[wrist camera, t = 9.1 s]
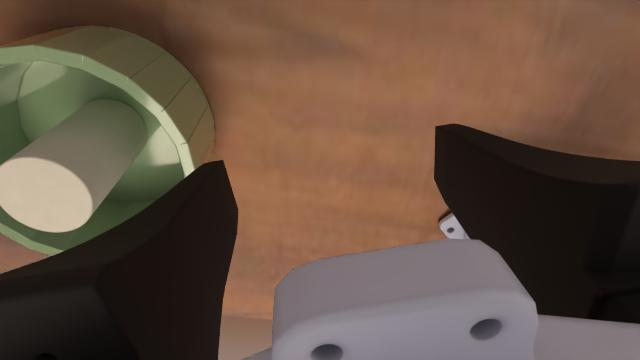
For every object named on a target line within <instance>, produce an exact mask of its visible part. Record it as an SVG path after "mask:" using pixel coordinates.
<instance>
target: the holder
mask: <svg viewBox="0 0 640 360" xmlns="http://www.w3.org/2000/svg"><path fill="white" fill-rule="evenodd" d="M97 99H113V100H117V101H120V102H122V103H125V104H126V105H128V106H130V107H131V108H132V109H134V110H135V111H136V112H137V113H138V114H139V115H140V117H141V118H142V120H143V122H144V123H145V126H146V130H147V141H146V144H145V146H144V148H143V149H142V151H141V152H140V153H139V155H138V156H137V157H136V158H135V160H134V161H133V162H132V164H131V165H130V166H129V168H128V169H127V170H126V171H125V173H124V174H123V175H122V177H121V178H120V179H119V181H118V182H117V183H116V184H115V186H114V187H113V188H112V190H111V191H110V192H109V193H108V195H107V196H106V197H105V199H104V200H103V201H102V203H101V204H100V205H99V206H98V208H97V209H96V210H95V212H94V213H93V214H92V216H91V217H90V218H89V219H88V221H87V222H86V223H85V224H83V225H82V226H80V227H79V228H76V229H74V230H71V231H67V232H46V231H41V230H37V229H34V228H31V227H29V226H27V225H24V224H23V223H21V222H19V221H17V220H16V219H14V218H13V217H12V216H10V215H9V214H8V213H7V212H6V211H5V210H4V209H3V208H2V207H1V205H0V233H1V234H3V235H5V236H7V237H8V238H10V239H12V240H14V241H16V242H17V243H19V244H21V245H23V246H25V247H27V248H29V249H32V250H35V251H39V252H42V253H45V254H48V255H51V256H53V255H55V254H58V253H60V252H63V251H65V250H68V249H70V248H72V247H75V246H77V245H79V244H81V243H84V242H86V241H88V240H90V239H92V238H94V237H96V236H98V235H100V234H102V233H104V232H106V231H108V230H109V229H111V228H113V227H115V226H117V225H119V224H121V223H122V222H124V221H126V220H127V219H129V218H131V217H132V216H134V215H136V214H137V213H139V212H140V211H142V210H143V209H145V208H146V207H148V206H149V205H151V204H152V203H153V202H155V201H156V200H157V199H159V198H160V197H161V196H163V195H164V194H165V193H167V192H168V191H169V190H171V189H172V188H173V187H174V186H175V185H177V184H178V183H179V182H180V181H182V180H183V179H184V178H185V177H186V176H188V175H189V174H190V173H191V172H193V171H194V170H195V169H196V168H198V167H199V166H201V165H202V164H204V163H207V162H211V161H212V155H213V152H214V145H215V125H214V119H213V115H212V112H211V108H210V105H209V103H208V101H207V98H206V96H205V94H204V93H203V91H202V89H201V87H200V86H199V84H198V83H197V81H196V80H195V79H194V77H193V76H192V75H191V73H190V72H189V71H188V70H187V69H186V68H185V67H184V66H183V65H182V64H181V63H180V62H179V61H178V60H177V59H176V58H174V57H173V56H172V55H171V54H170V53H168V52H167V51H165V50H164V49H162V48H161V47H160V46H158V45H157V44H155V43H153V42H151V41H149V40H147V39H145V38H143V37H141V36H138V35H136V34H133V33H131V32H128V31H125V30H121V29H117V28H113V27H106V26H98V25H82V26H75V27H69V28H62V29H56V30H52V31H49V32H45V33H42V34H38V35H35V36H31V37H28V38H24V39H21V40H18V41H14V42H11V43H7V44H4V45H0V165H1V164H2V163H4V162H5V161H7V160H8V159H10V158H11V157H12V156H14V155H15V154H17V153H18V152H19V151H21V150H22V149H24V148H25V147H27V146H28V145H29V144H31V143H32V142H34V141H35V140H36V139H38V138H39V137H41V136H42V135H44V134H45V133H46V132H48V131H49V130H51V129H52V128H53V127H55V126H56V125H58V124H59V123H61V122H62V121H63V120H65V119H66V118H68V117H69V116H70V115H72V114H73V113H75V112H76V111H78V110H79V109H80V108H82V107H83V106H85V105H86V104H88V103H89V102H91V101H93V100H97Z"/></svg>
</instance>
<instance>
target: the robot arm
mask: <svg viewBox="0 0 640 360" xmlns="http://www.w3.org/2000/svg"><path fill="white" fill-rule="evenodd" d="M434 180H435V182H436V184H437V186H438V189H439V191H440V193H441V195H442V197H443V199H444V201H445V203H446V204H447V206H448V207H449V209H450V210H451V212H452V213H451V214H449V215H448V216H446V217H445V218H443V219H442V220H441V221H440V222H439V227H440V229H441V230H442V231H443V233H444V234H445V235H446V236H447V237H448V238H449V239H444V240H437V241H431V242H424V243H418V244H412V245H405V246H399V247H392V248H386V249H380V250H373V251H367V252H361V253H354V254H348V255H341V256H335V257H329V258H322V259H319V260H316V261H313V262H311V263H308V264H305V265H303V266H300V267H297V268H294V269H292V270H291V271H290V272H289V273H288V275H287V276H286V277H285V278H284V279H283V280H282V281H281V282H280V283H279V284H278V285H277V286H276V288H275V296H274V307H273V331H272V347H271V348H269V349H266V350H264V351H262V352H259V353H256V354H254V355H252V356H249V357H247V358H244V359H242V360H640V161H627V160H614V159H604V158H596V157H587V156H580V155H573V154H567V153H562V152H556V151H551V150H546V149H542V148H537V147H533V146H530V145H526V144H522V143H518V142H515V141H511V140H508V139H505V138H502V137H498V136H495V135H492V134H489V133H486V132H483V131H480V130H477V129H474V128H471V127H467V126H464V125H459V124H448V125H441V126H436V128H435V166H434ZM237 225H238V207H237V204H236V201H235V197H234V194H233V191H232V188H231V184H230V181H229V178H228V175H227V171H226V168H225V165H224V162H223V160H220V161H213V162H207V163H204V164H202V165H201V166H199V167H198V168H196V169H195V170H194V171H193V172H191V173H190V174H189V175H188V176H186V177H185V178H184V179H183V180H182V181H180V182H179V183H178V184H177V185H175V186H174V187H173V188H172V189H171V190H169V191H168V192H167V193H165V194H164V195H163V196H161V197H160V198H159V199H157V200H156V201H155V202H153V203H152V204H151V205H149V206H148V207H146V208H145V209H143V210H142V211H140V212H139V213H137V214H136V215H134V216H132V217H131V218H129V219H127V220H126V221H124V222H122V223H121V224H119V225H117V226H115V227H113V228H111V229H109V230H108V231H106V232H104V233H102V234H100V235H98V236H96V237H94V238H92V239H90V240H88V241H86V242H84V243H81V244H79V245H77V246H75V247H72V248H70V249H68V250H65V251H63V252H60V253H58V254H55V255H53V256H50V257H48V258H45V259H43V260H40V261H37V262H34V263H31V264H28V265H25V266H23V267H20V268H17V269H14V270H11V271H8V272H5V273H2V274H0V360H218V349H219V336H220V324H221V314H222V304H223V296H224V290H225V285H226V281H227V276H228V272H229V267H230V263H231V258H232V254H233V249H234V245H235V240H236V235H237ZM450 227H452V228H451V229H449V230H447V229H448V228H450Z"/></svg>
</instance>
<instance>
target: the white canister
mask: <svg viewBox="0 0 640 360" xmlns="http://www.w3.org/2000/svg"><path fill="white" fill-rule="evenodd" d="M146 141H147V130H146V126H145V123H144V122H143V120H142V118H141V117H140V115H139V114H138V113H137V112H136V111H135V110H134V109H132V108H131V107H130V106H128V105H126V104H125V103H122V102H120V101H117V100H113V99H97V100H93V101H91V102H89V103H88V104H86V105H85V106H83V107H82V108H80V109H79V110H78V111H76V112H75V113H73V114H72V115H70V116H69V117H68V118H66V119H65V120H63V121H62V122H61V123H59V124H58V125H56V126H55V127H53V128H52V129H51V130H49V131H48V132H46V133H45V134H44V135H42V136H41V137H39V138H38V139H36V140H35V141H34V142H32V143H31V144H29V145H28V146H27V147H25V148H24V149H22V150H21V151H19V152H18V153H17V154H15V155H14V156H12V157H11V158H10V159H8V160H7V161H5V162H4V163H2V164H1V165H0V205H1V207H2V208H3V209H4V210H5V211H6V212H7V213H8V214H9V215H10V216H12V217H13V218H14V219H16V220H17V221H19V222H21V223H23V224H24V225H27V226H29V227H31V228H34V229H37V230H41V231H46V232H67V231H71V230H74V229H76V228H79V227H80V226H82V225H83V224H85V223H86V222H87V221H88V219H89V218H90V217H91V216H92V214H93V213H94V212H95V210H96V209H97V208H98V206H99V205H100V204H101V203H102V201H103V200H104V199H105V197H106V196H107V195H108V193H109V192H110V191H111V190H112V188H113V187H114V186H115V184H116V183H117V182H118V181H119V179H120V178H121V177H122V175H123V174H124V173H125V171H126V170H127V169H128V168H129V166H130V165H131V164H132V162H133V161H134V160H135V158H136V157H137V156H138V155H139V153H140V152H141V151H142V149H143V148H144V146H145V144H146Z"/></svg>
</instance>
